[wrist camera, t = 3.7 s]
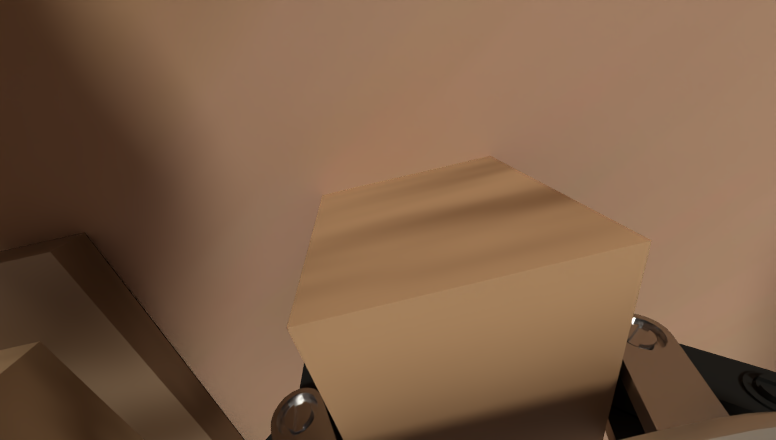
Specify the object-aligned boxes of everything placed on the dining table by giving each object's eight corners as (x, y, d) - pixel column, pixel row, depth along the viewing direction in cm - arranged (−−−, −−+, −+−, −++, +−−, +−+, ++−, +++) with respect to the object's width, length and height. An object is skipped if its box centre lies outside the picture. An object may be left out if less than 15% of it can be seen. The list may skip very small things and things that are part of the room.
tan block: (322, 195, 10) (286, 328, 5) (490, 156, 10) (651, 240, 5) (378, 364, 14) (395, 541, 8) (498, 335, 14) (589, 493, 9)
